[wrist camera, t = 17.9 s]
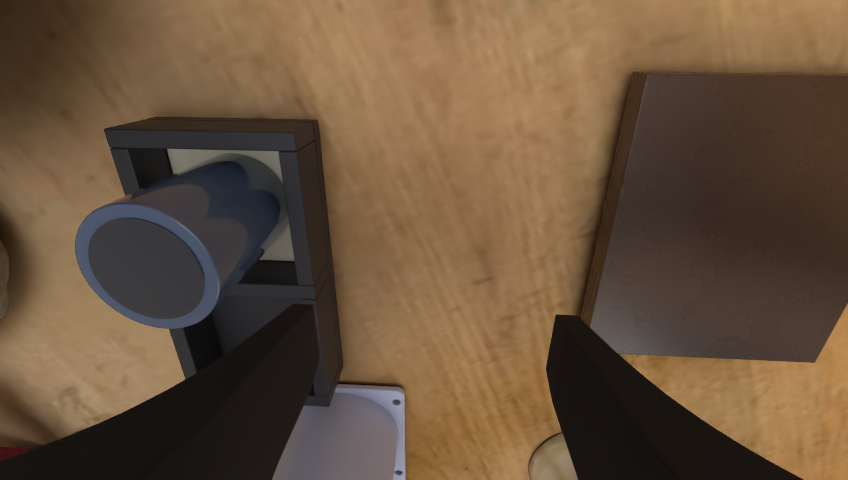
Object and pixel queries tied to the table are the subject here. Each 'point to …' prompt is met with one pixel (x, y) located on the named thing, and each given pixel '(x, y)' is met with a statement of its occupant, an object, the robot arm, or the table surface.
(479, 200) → the table surface
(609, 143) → the table surface
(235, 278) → the tumbler
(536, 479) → the hand bell
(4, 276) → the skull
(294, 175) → the rack
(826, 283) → the shelf
